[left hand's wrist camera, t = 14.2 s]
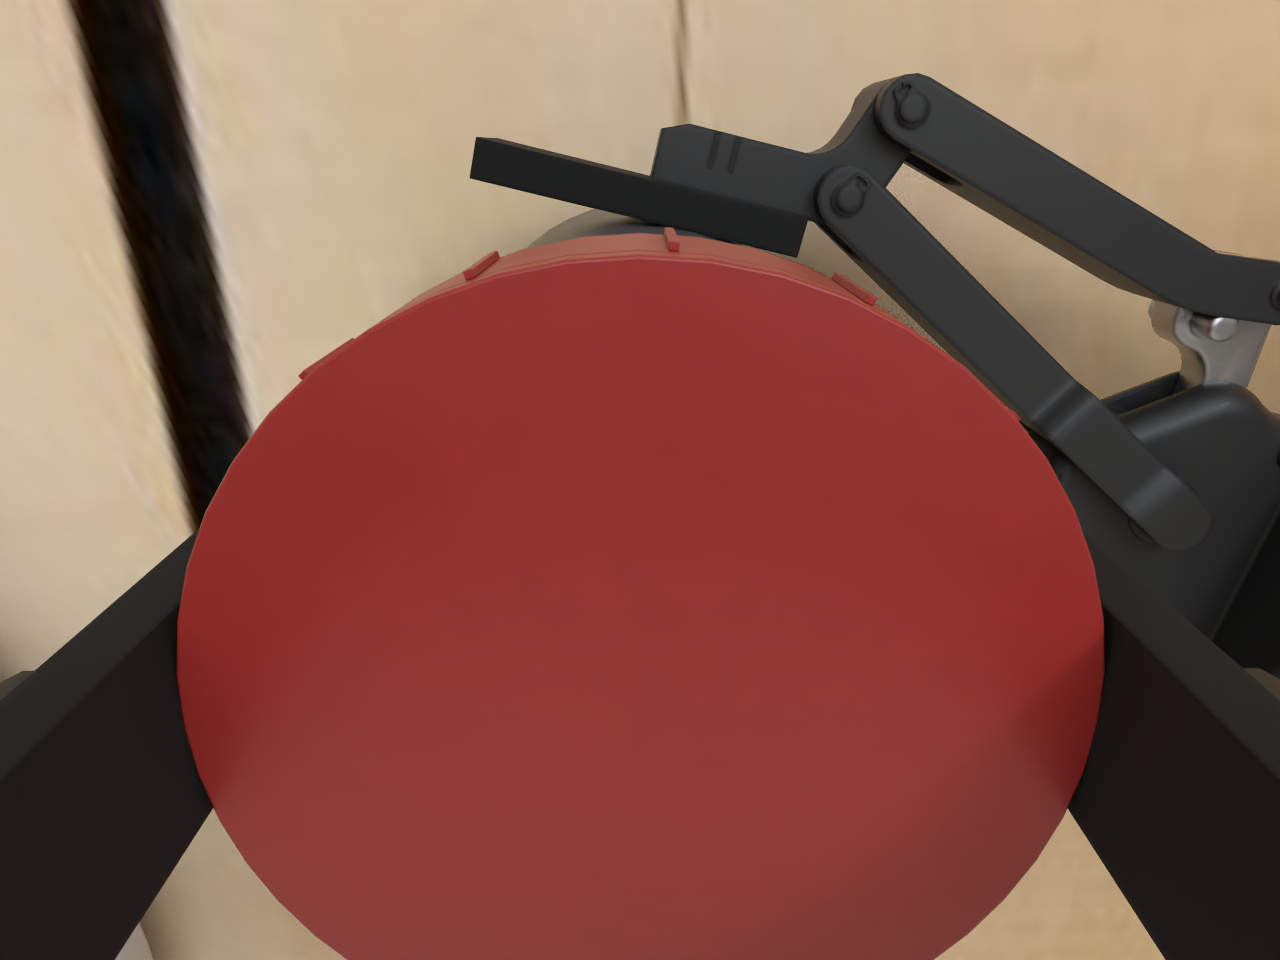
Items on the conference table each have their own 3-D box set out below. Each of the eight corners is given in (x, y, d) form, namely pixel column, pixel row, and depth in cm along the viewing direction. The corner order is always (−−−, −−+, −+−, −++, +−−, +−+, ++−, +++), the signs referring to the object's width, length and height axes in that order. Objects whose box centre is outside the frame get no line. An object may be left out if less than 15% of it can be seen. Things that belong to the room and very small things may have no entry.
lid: (549, 32, 10) (524, 0, 8) (1186, 559, 12) (1306, 649, 10) (124, 684, 13) (19, 794, 10) (700, 1009, 15) (709, 1154, 13)
